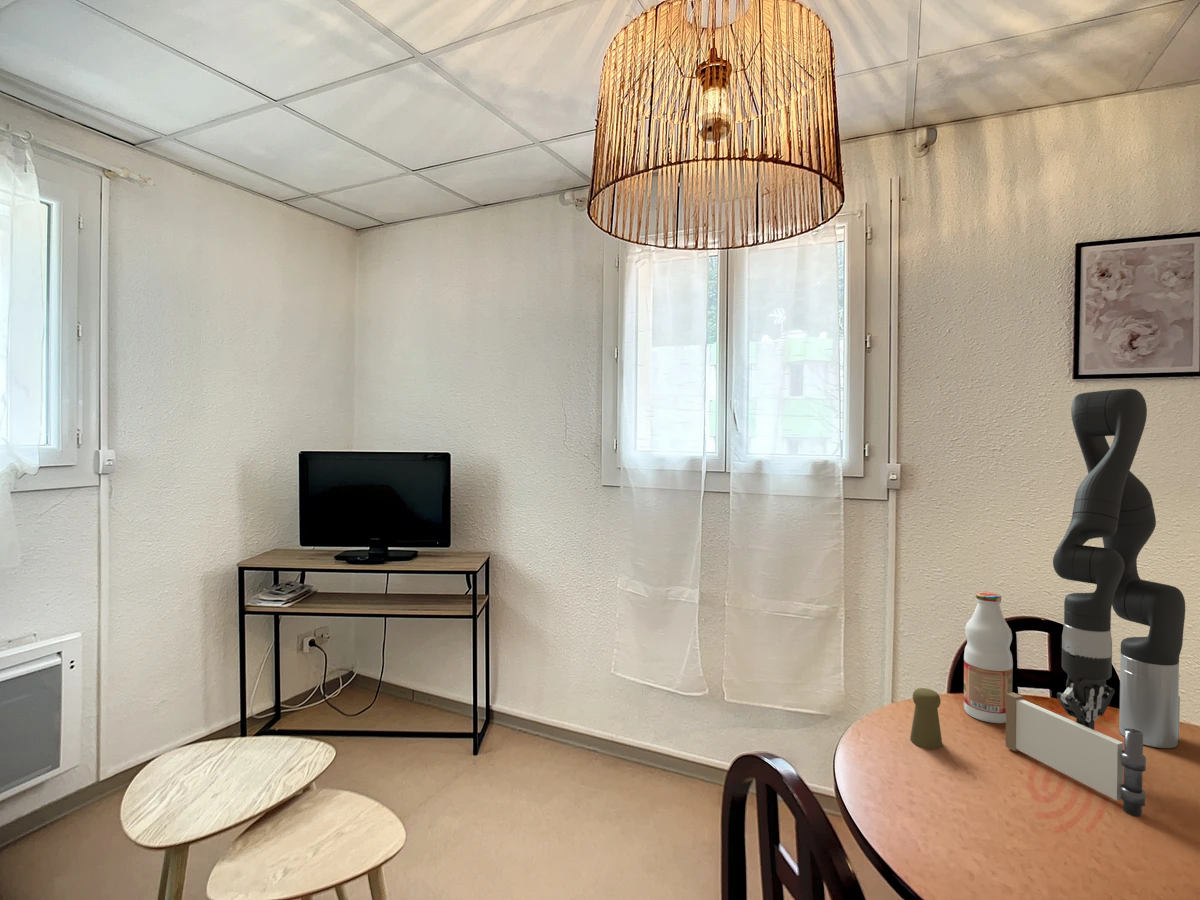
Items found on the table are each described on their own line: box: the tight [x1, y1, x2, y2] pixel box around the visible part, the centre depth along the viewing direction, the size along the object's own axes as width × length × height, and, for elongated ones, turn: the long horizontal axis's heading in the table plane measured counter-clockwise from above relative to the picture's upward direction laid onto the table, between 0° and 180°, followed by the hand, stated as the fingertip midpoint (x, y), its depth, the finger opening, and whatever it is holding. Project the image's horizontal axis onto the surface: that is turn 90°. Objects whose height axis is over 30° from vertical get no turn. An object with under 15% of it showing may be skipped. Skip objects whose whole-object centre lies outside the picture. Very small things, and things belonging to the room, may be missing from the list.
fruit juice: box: [963, 591, 1014, 724], centre depth 141 cm, size 9×9×28 cm
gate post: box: [1121, 729, 1147, 818], centre depth 105 cm, size 3×3×14 cm
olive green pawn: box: [909, 687, 943, 750], centre depth 130 cm, size 6×6×11 cm
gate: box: [1005, 691, 1124, 801], centre depth 117 cm, size 20×2×11 cm, turn 18°
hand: (1085, 738), depth 119 cm, fingers closed
